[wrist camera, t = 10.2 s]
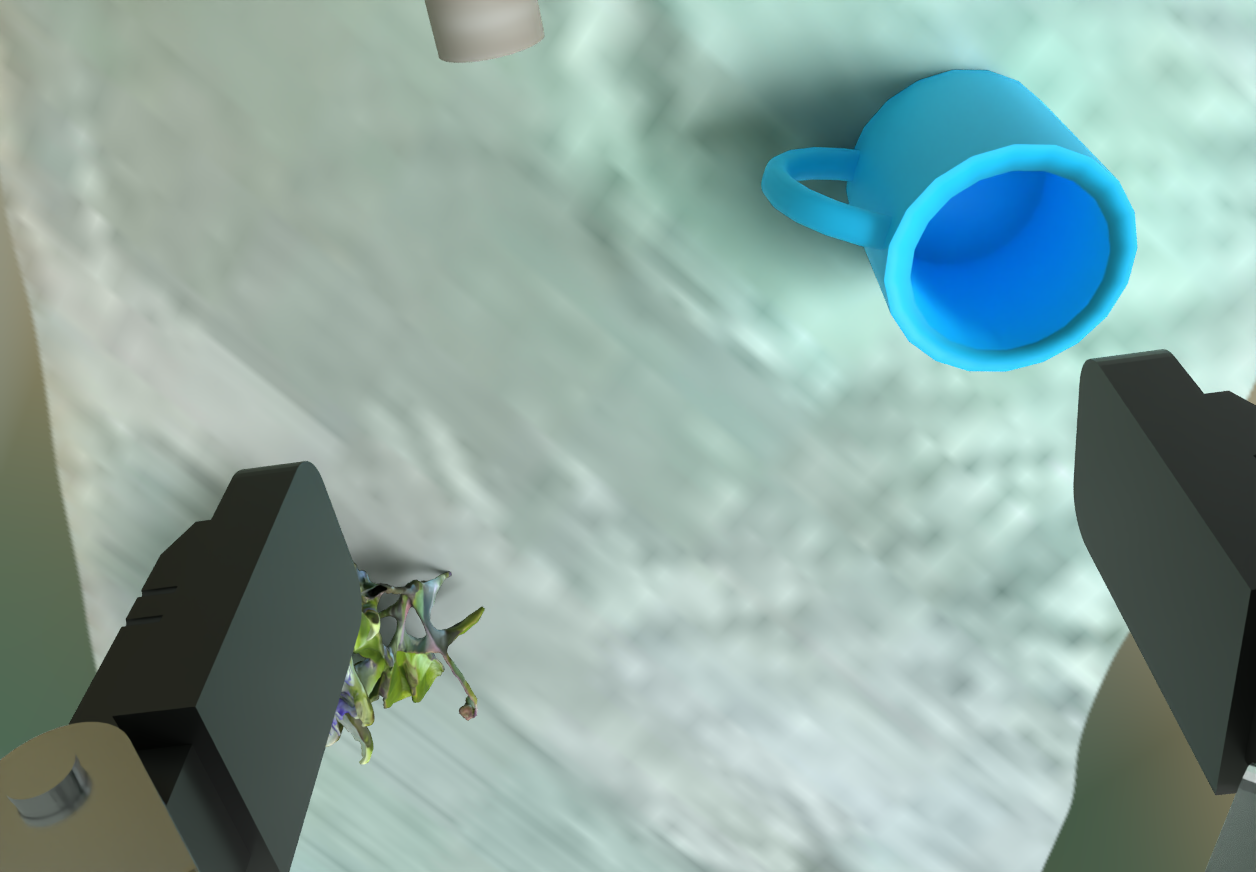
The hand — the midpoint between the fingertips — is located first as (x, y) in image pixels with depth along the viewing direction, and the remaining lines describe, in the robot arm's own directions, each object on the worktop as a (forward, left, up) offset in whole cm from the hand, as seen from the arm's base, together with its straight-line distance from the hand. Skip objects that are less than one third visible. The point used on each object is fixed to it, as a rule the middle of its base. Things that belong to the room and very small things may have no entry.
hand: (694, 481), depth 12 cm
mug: (-8, +10, -33) cm, 36 cm away
